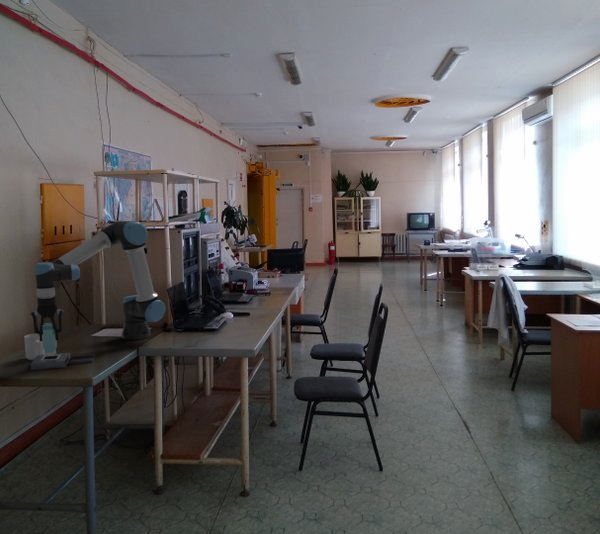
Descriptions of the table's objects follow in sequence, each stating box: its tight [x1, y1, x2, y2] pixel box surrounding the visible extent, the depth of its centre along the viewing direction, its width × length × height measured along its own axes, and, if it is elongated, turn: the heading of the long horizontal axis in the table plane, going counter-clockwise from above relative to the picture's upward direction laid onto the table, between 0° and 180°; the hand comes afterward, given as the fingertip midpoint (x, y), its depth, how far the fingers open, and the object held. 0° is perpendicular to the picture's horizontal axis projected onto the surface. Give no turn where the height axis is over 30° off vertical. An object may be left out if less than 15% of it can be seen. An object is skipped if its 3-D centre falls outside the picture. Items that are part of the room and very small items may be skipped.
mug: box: [23, 332, 45, 361], centre depth 261 cm, size 12×9×11 cm
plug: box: [42, 322, 57, 356], centre depth 249 cm, size 4×4×14 cm
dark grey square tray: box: [68, 353, 96, 365], centre depth 255 cm, size 10×10×2 cm
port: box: [30, 352, 71, 371], centre depth 250 cm, size 14×14×4 cm
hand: (50, 347), depth 249 cm, fingers closed on plug, 4 cm apart
